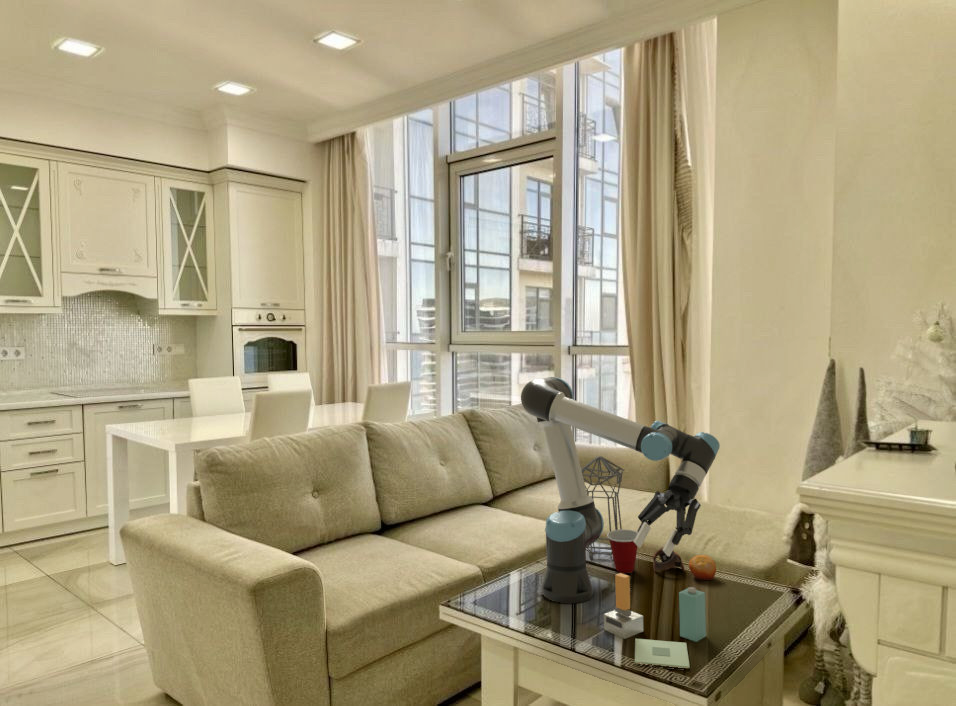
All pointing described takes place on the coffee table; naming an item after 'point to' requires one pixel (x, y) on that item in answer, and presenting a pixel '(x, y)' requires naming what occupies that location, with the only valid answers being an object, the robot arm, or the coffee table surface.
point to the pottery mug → (667, 561)
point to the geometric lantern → (618, 474)
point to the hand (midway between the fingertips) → (651, 548)
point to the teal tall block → (692, 614)
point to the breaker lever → (622, 594)
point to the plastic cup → (623, 549)
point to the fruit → (702, 567)
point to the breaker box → (623, 624)
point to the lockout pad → (661, 653)
